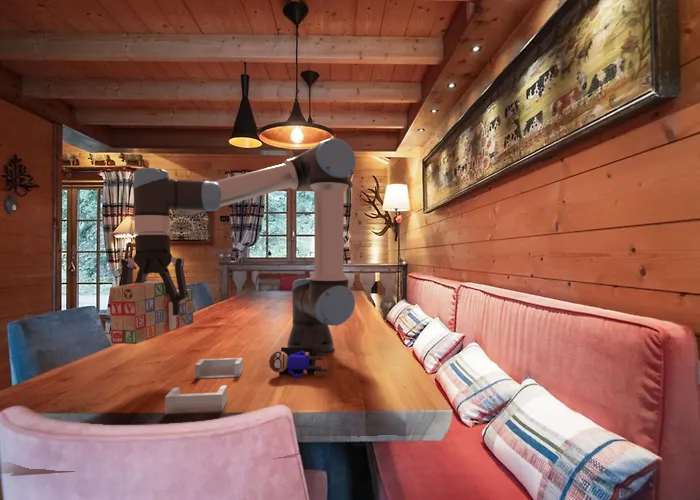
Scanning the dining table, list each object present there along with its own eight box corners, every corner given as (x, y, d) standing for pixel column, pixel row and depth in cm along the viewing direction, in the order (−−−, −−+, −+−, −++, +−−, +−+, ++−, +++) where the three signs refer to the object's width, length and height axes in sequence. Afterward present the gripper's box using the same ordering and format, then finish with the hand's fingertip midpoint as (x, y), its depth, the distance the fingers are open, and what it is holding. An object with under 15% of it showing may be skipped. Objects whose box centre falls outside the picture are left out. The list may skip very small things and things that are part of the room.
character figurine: (325, 382, 95) (266, 380, 97) (330, 371, 102) (276, 369, 104) (324, 352, 94) (265, 350, 96) (329, 342, 102) (275, 341, 104)
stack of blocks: (172, 323, 104) (171, 277, 104) (193, 323, 103) (192, 277, 102) (110, 343, 83) (109, 286, 82) (136, 344, 82) (135, 286, 81)
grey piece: (242, 370, 103) (242, 357, 103) (239, 377, 98) (239, 363, 98) (200, 372, 102) (200, 359, 102) (195, 378, 97) (195, 365, 97)
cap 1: (165, 414, 76) (164, 397, 76) (173, 404, 81) (173, 387, 81) (222, 411, 77) (221, 394, 77) (227, 401, 82) (227, 385, 82)
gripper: (200, 234, 97) (203, 324, 97) (115, 235, 94) (117, 328, 95) (192, 233, 89) (194, 331, 90) (99, 234, 87) (101, 335, 87)
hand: (155, 329), depth 92 cm, fingers closed on stack of blocks, 7 cm apart
